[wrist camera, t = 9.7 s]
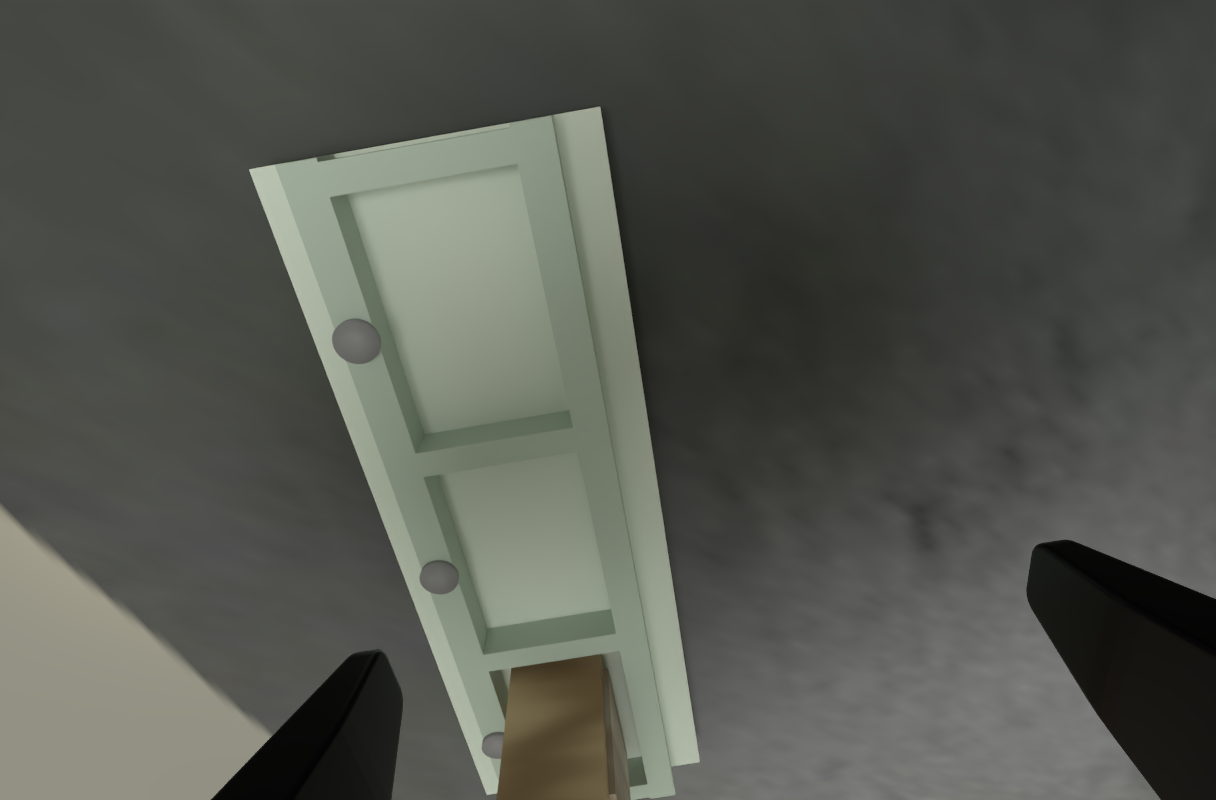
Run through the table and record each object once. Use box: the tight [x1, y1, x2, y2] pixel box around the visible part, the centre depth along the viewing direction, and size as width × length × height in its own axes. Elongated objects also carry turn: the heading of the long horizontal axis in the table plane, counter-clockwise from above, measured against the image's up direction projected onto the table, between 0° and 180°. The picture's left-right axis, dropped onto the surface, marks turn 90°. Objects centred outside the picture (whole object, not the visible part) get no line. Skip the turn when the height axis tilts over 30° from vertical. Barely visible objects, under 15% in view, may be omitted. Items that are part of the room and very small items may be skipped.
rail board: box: [249, 107, 700, 800], centre depth 21 cm, size 9×25×3 cm, turn 9°
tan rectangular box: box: [497, 654, 631, 800], centre depth 22 cm, size 3×6×6 cm, turn 9°
